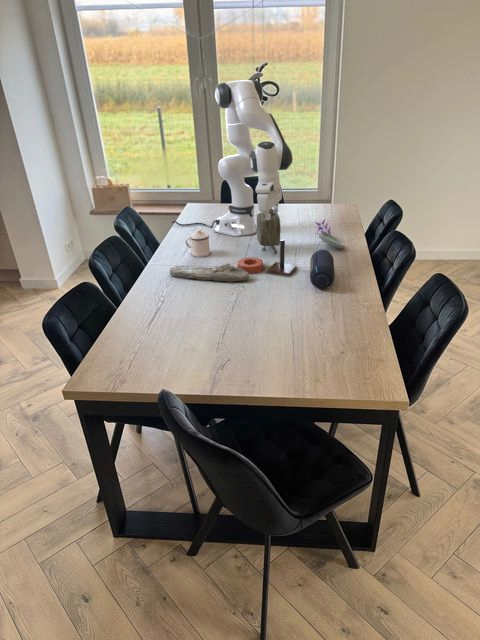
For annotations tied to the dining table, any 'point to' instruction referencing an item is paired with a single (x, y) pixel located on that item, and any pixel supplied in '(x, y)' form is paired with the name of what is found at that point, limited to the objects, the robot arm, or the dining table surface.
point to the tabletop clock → (268, 230)
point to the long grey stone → (211, 273)
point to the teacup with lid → (199, 244)
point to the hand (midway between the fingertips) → (272, 216)
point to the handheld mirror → (328, 236)
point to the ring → (251, 265)
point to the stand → (282, 263)
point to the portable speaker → (322, 269)
